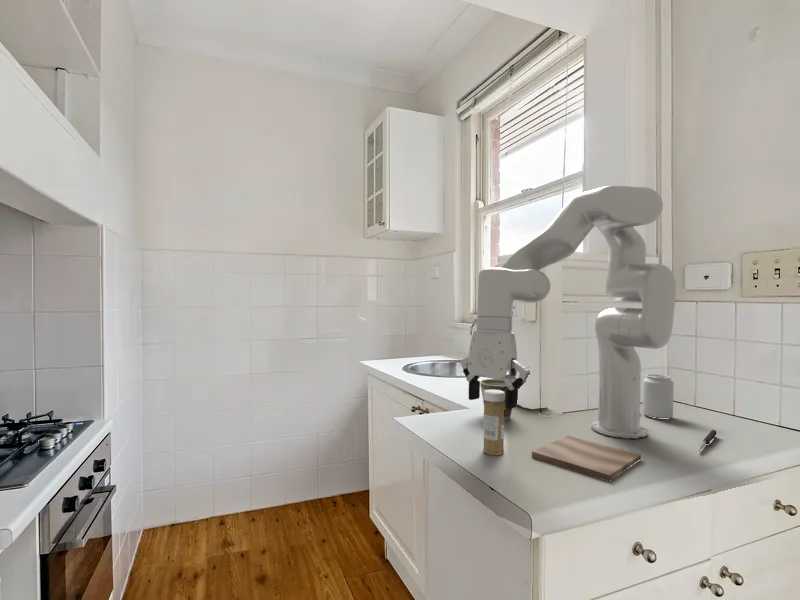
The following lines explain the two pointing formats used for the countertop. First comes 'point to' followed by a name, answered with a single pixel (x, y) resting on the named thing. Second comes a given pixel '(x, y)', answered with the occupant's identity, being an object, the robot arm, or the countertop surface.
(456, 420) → the countertop surface
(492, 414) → the sprinkles bottle
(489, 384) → the ceramic cup
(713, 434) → the kitchen knife
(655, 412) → the can
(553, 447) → the walnut board
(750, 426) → the countertop surface
